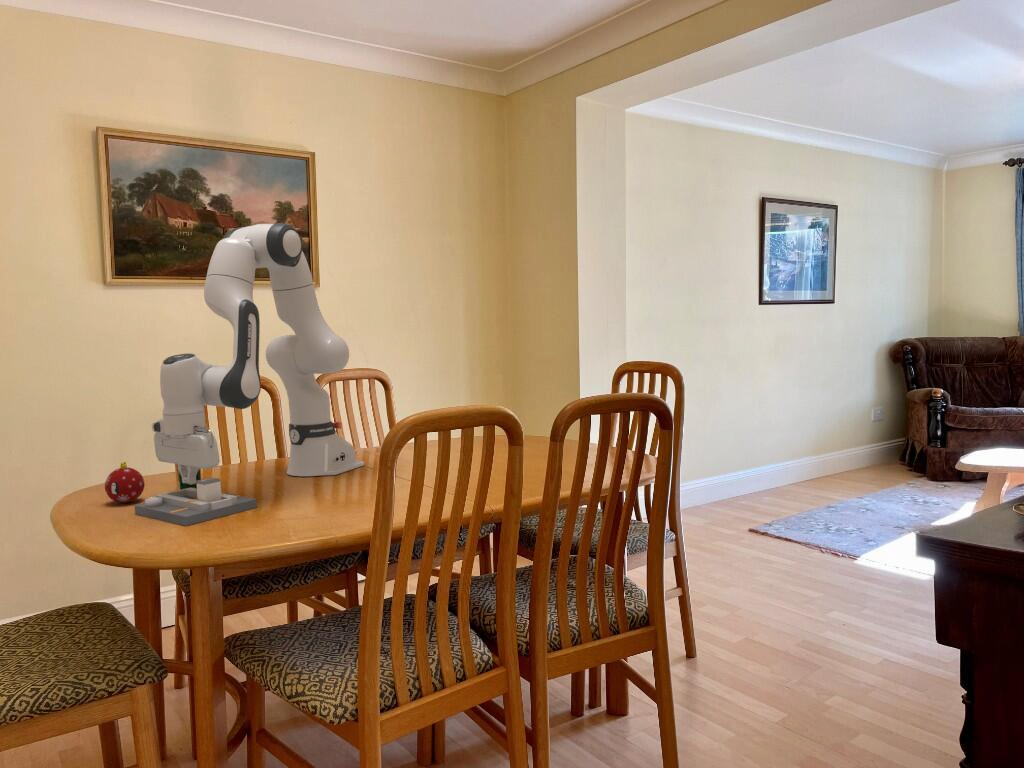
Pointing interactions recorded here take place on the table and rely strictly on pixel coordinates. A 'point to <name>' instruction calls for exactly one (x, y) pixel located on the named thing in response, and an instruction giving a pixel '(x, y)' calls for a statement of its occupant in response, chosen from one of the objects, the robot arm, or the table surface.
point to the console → (192, 507)
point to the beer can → (184, 486)
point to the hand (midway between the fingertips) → (189, 483)
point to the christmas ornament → (124, 484)
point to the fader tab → (209, 490)
